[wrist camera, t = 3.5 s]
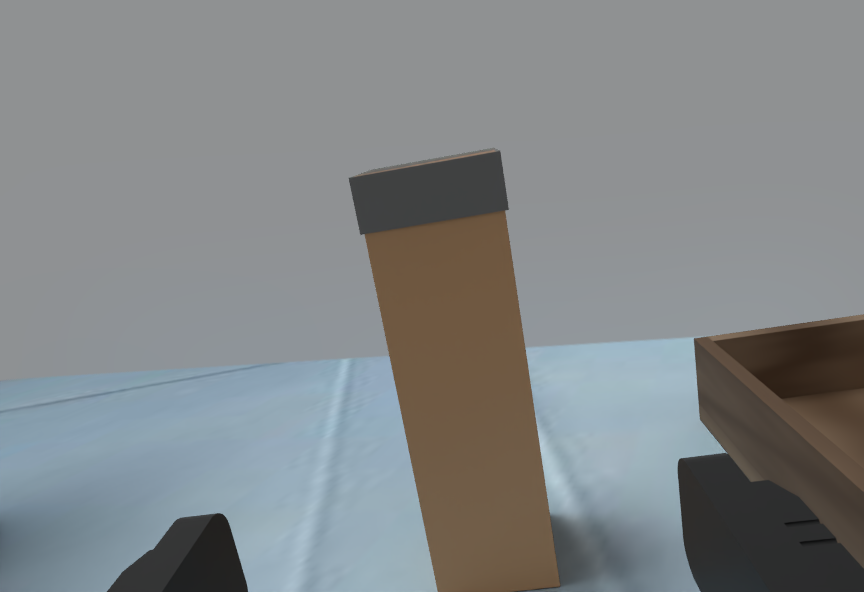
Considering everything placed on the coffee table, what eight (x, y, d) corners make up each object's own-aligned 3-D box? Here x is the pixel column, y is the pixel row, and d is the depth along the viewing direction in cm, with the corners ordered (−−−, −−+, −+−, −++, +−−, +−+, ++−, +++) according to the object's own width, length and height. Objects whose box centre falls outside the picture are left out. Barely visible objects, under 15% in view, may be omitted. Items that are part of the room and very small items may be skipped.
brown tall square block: (436, 601, 20) (348, 178, 17) (441, 524, 24) (372, 169, 21) (564, 588, 20) (500, 150, 16) (547, 511, 24) (494, 147, 20)
